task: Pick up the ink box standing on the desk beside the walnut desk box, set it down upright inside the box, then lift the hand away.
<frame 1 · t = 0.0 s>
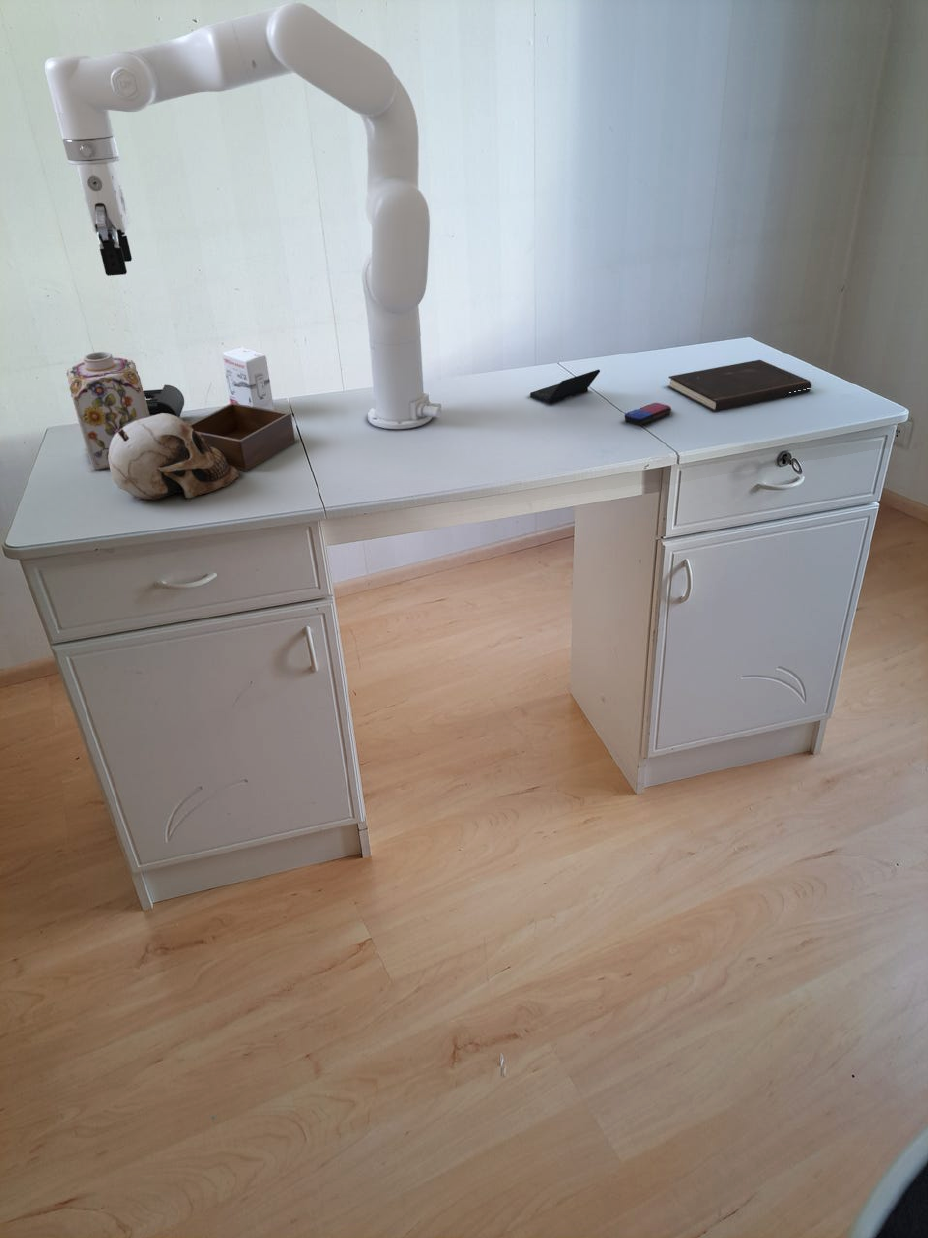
hand: (119, 267, 143), 31 cm above the table, tool pointing down, fingers open, 9 cm apart
handheld gaming console: (564, 397, 176), on the table
eraser: (647, 420, 165), on the table
ink box: (253, 413, 173), on the table
desk box: (241, 449, 158), on the table
hardcover book: (737, 391, 176), on the table
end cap: (166, 427, 168), on the table
coin bank: (180, 487, 146), on the table
decorative jar: (124, 454, 158), on the table
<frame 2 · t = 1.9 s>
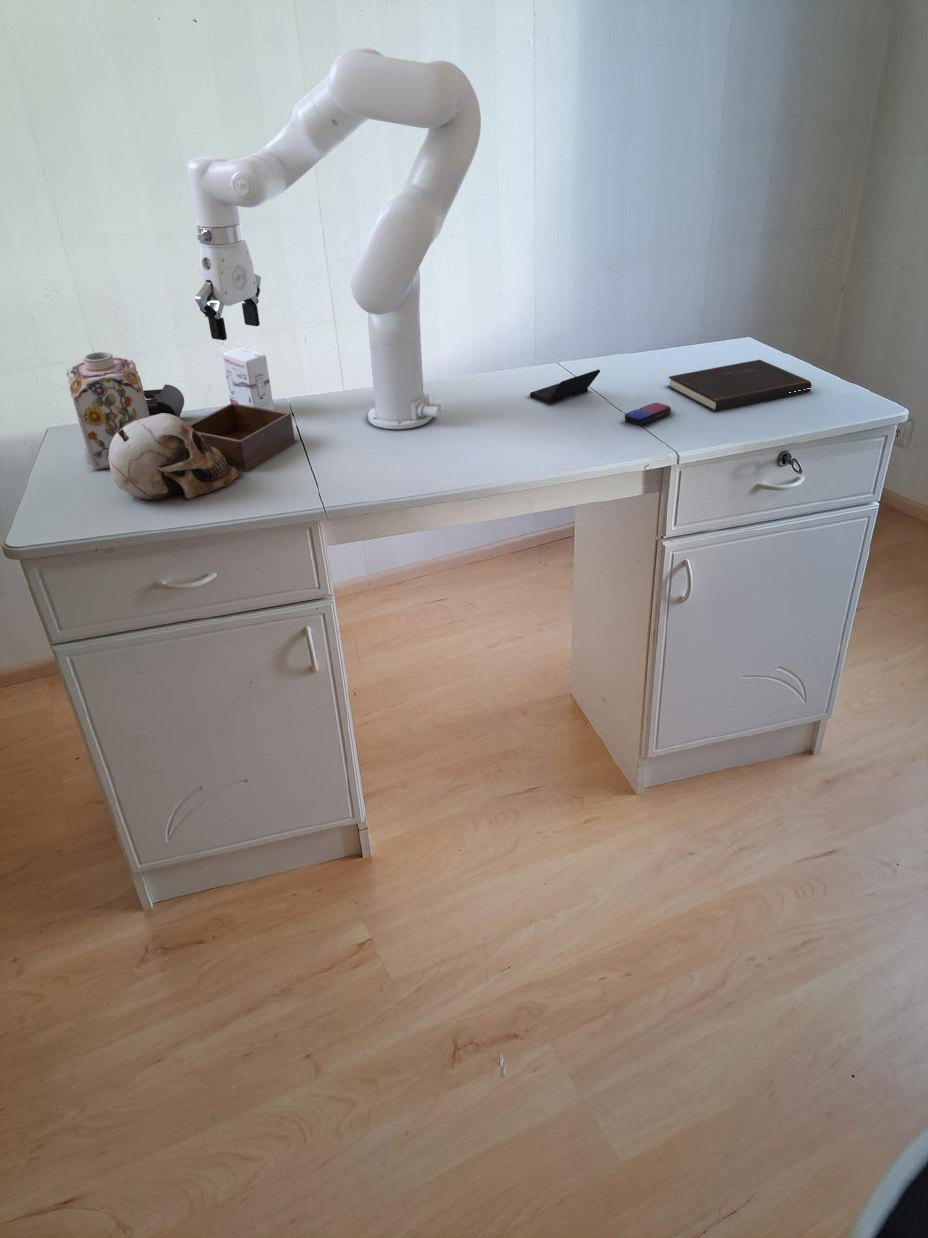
hand: (236, 331, 164), 16 cm above the table, tool pointing down, fingers open, 9 cm apart
nothing on the table moved.
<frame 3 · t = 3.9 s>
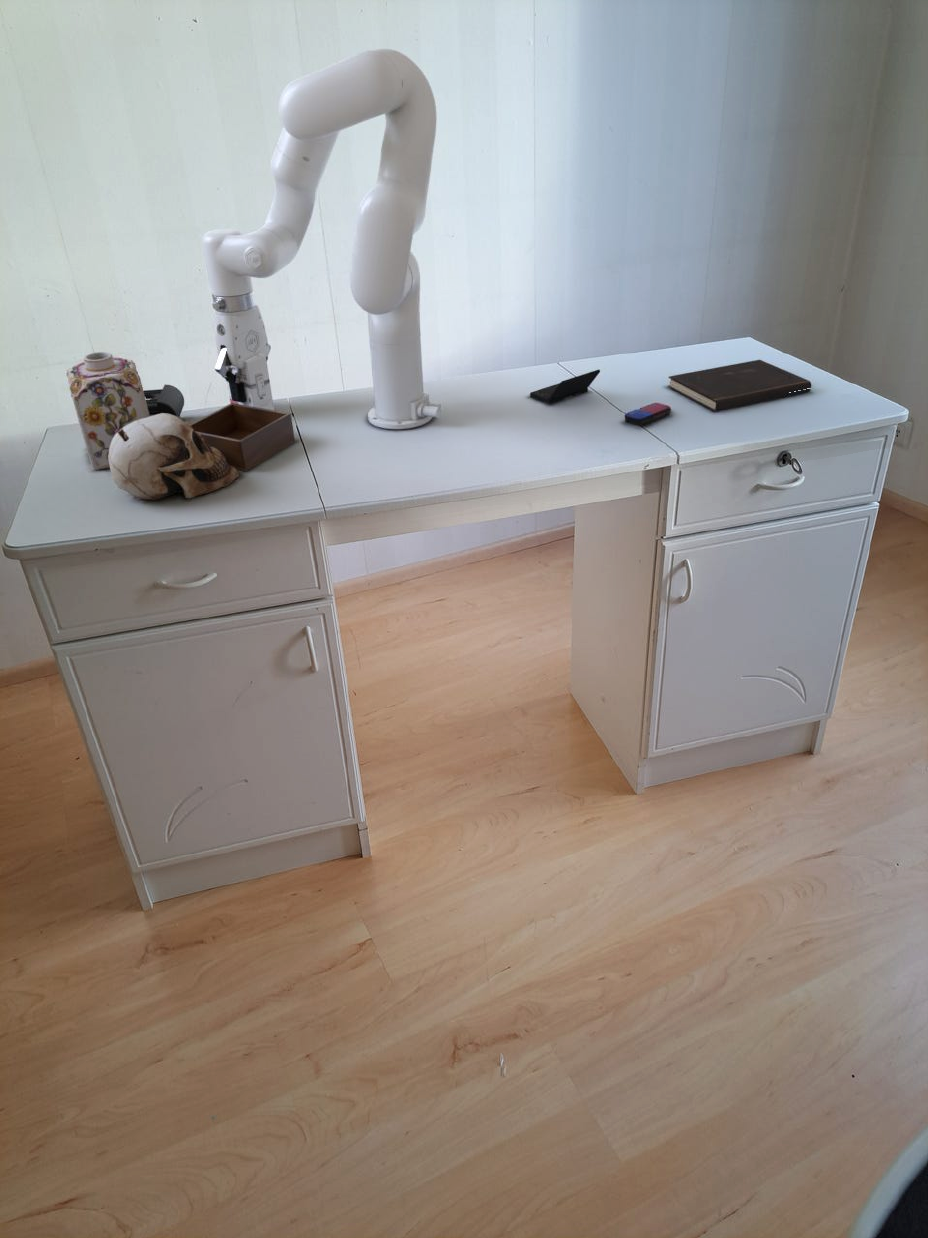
hand: (250, 394, 171), 4 cm above the table, tool pointing down, fingers closed on ink box, 5 cm apart
ink box: (253, 413, 173), on the table, touching gripper
everything else where it was.
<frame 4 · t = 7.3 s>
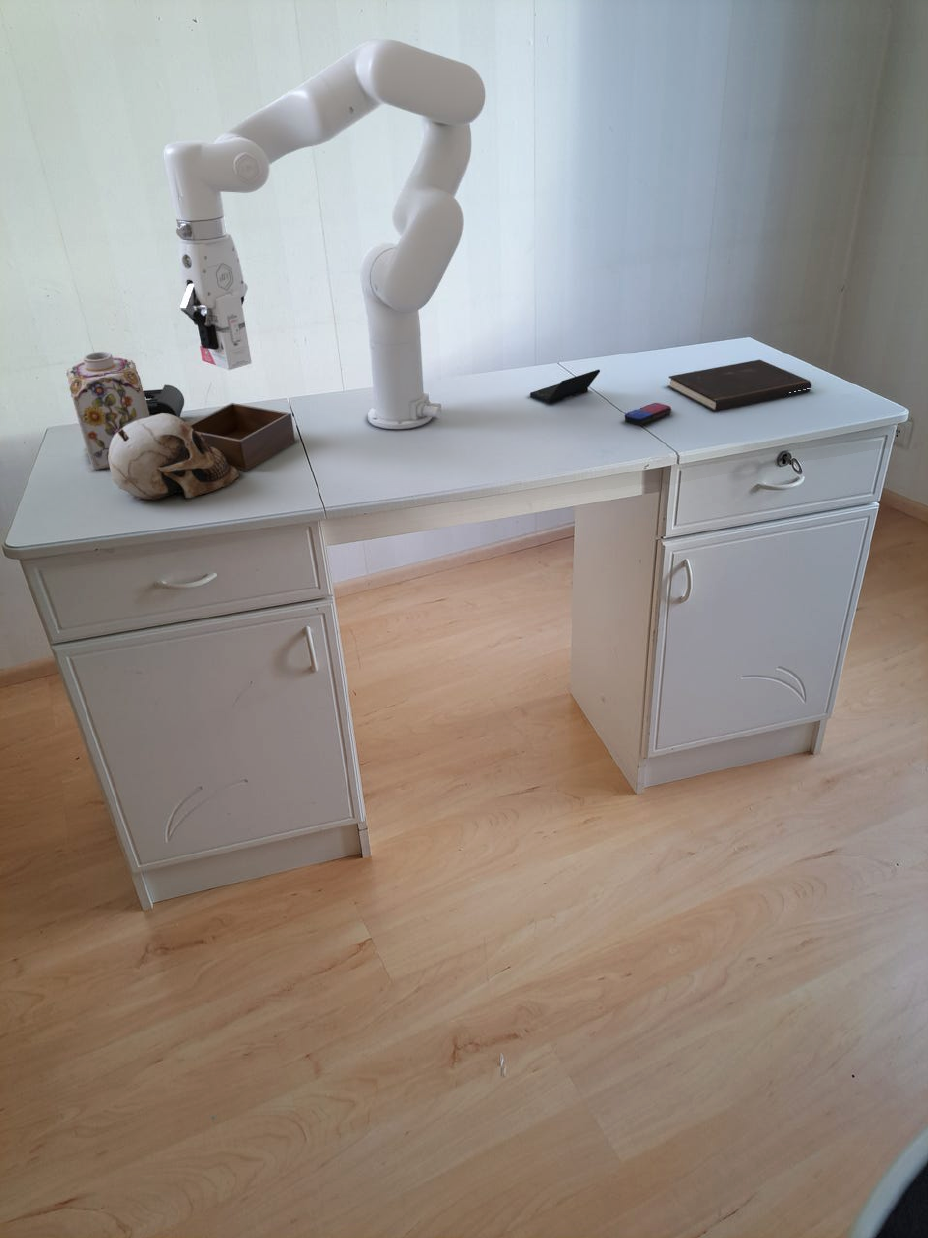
hand: (223, 341, 148), 19 cm above the table, tool pointing down, fingers closed on ink box, 5 cm apart
ink box: (227, 363, 151), point 15 cm above the table, touching gripper
everything else where it was.
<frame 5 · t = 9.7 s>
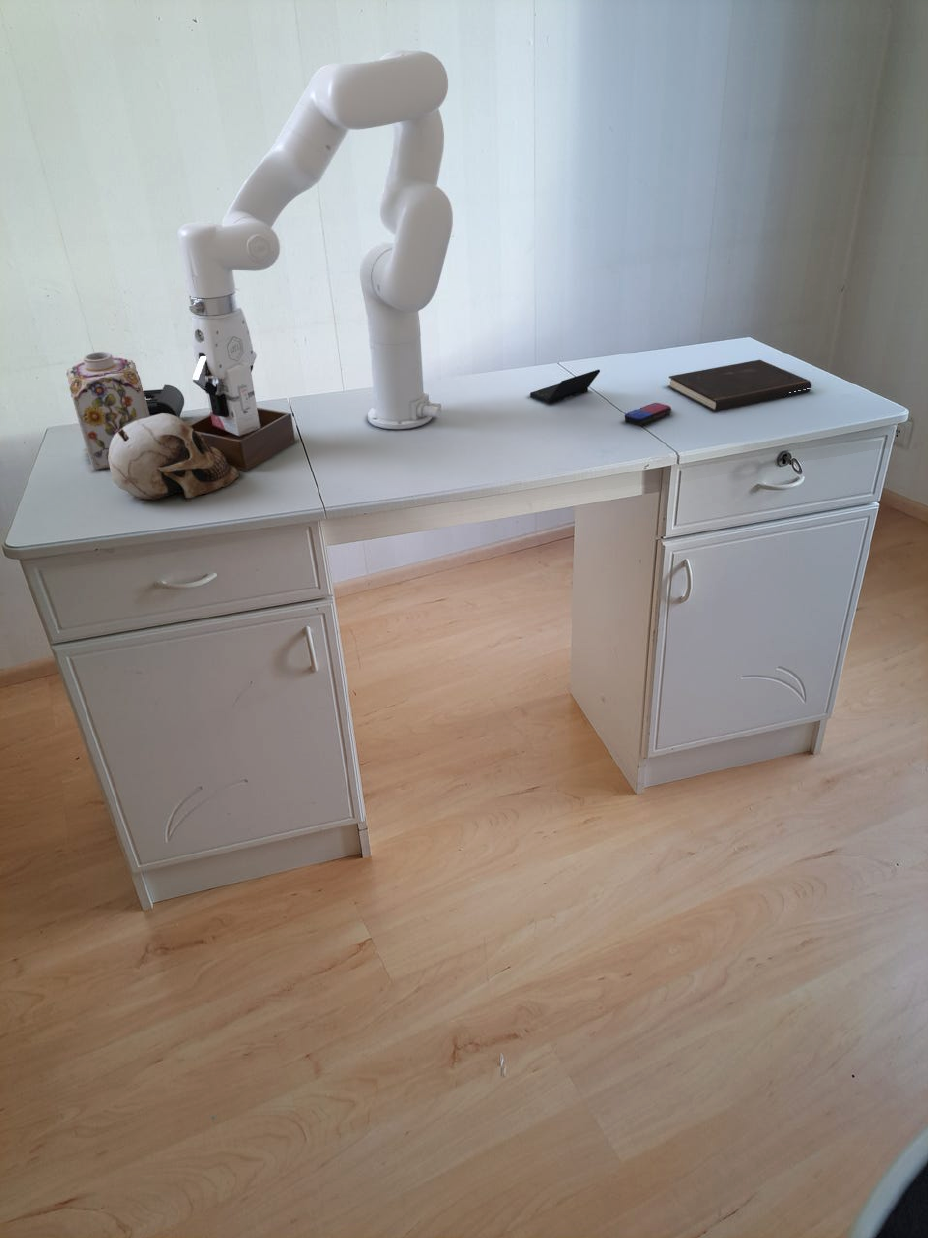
hand: (233, 408, 153), 8 cm above the table, tool pointing down, fingers closed on ink box, 5 cm apart
ink box: (236, 428, 155), point 4 cm above the table, touching gripper
everything else where it was.
when the fingers open (4 cm above the table, at t = 11.2 s): ink box stays where it is, resting on desk box.
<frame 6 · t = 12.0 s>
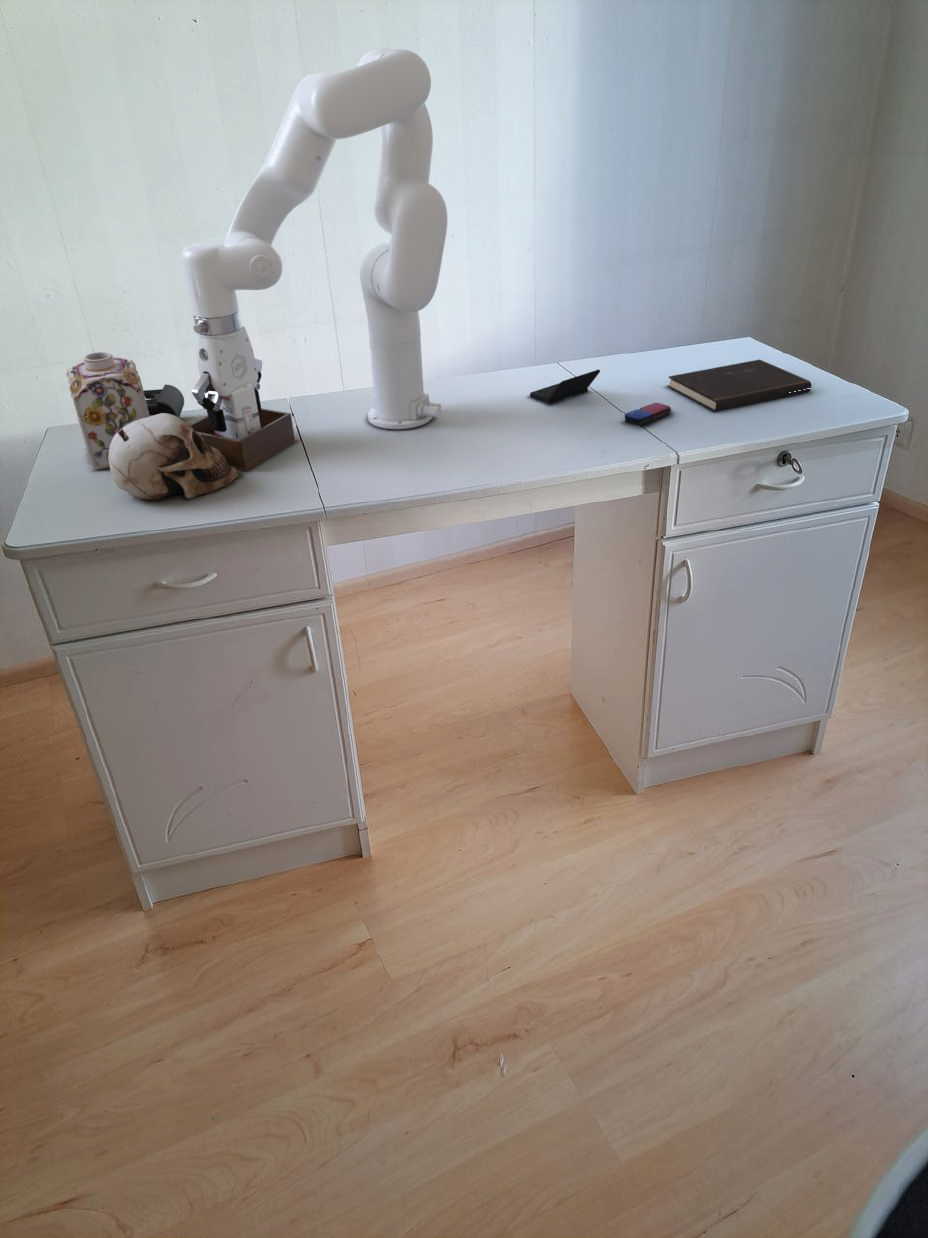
hand: (236, 420, 155), 6 cm above the table, tool pointing down, fingers open, 9 cm apart
ink box: (240, 448, 158), resting on desk box
everything else where it was.
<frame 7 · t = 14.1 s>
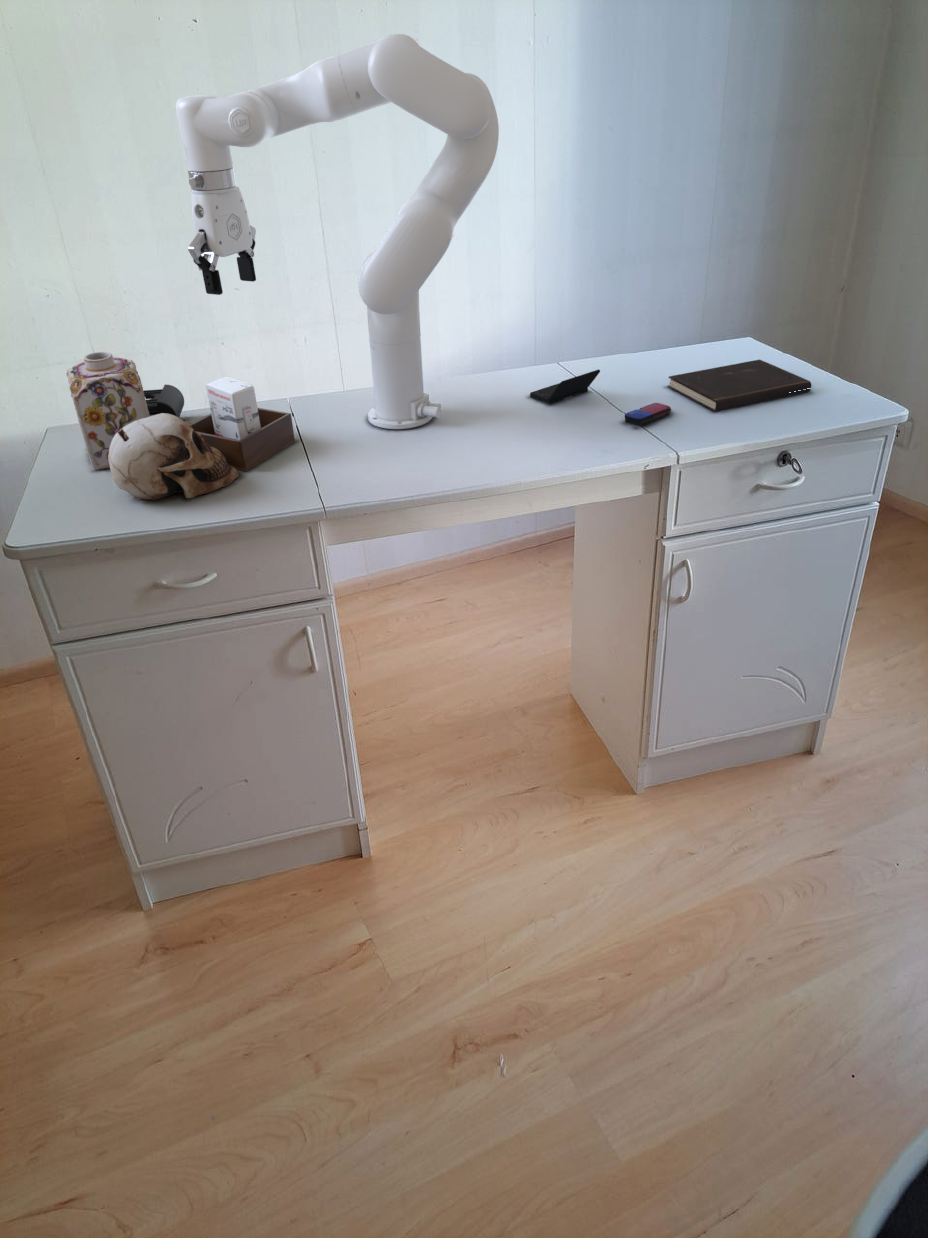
hand: (231, 287, 155), 25 cm above the table, tool pointing down, fingers open, 9 cm apart
nothing on the table moved.
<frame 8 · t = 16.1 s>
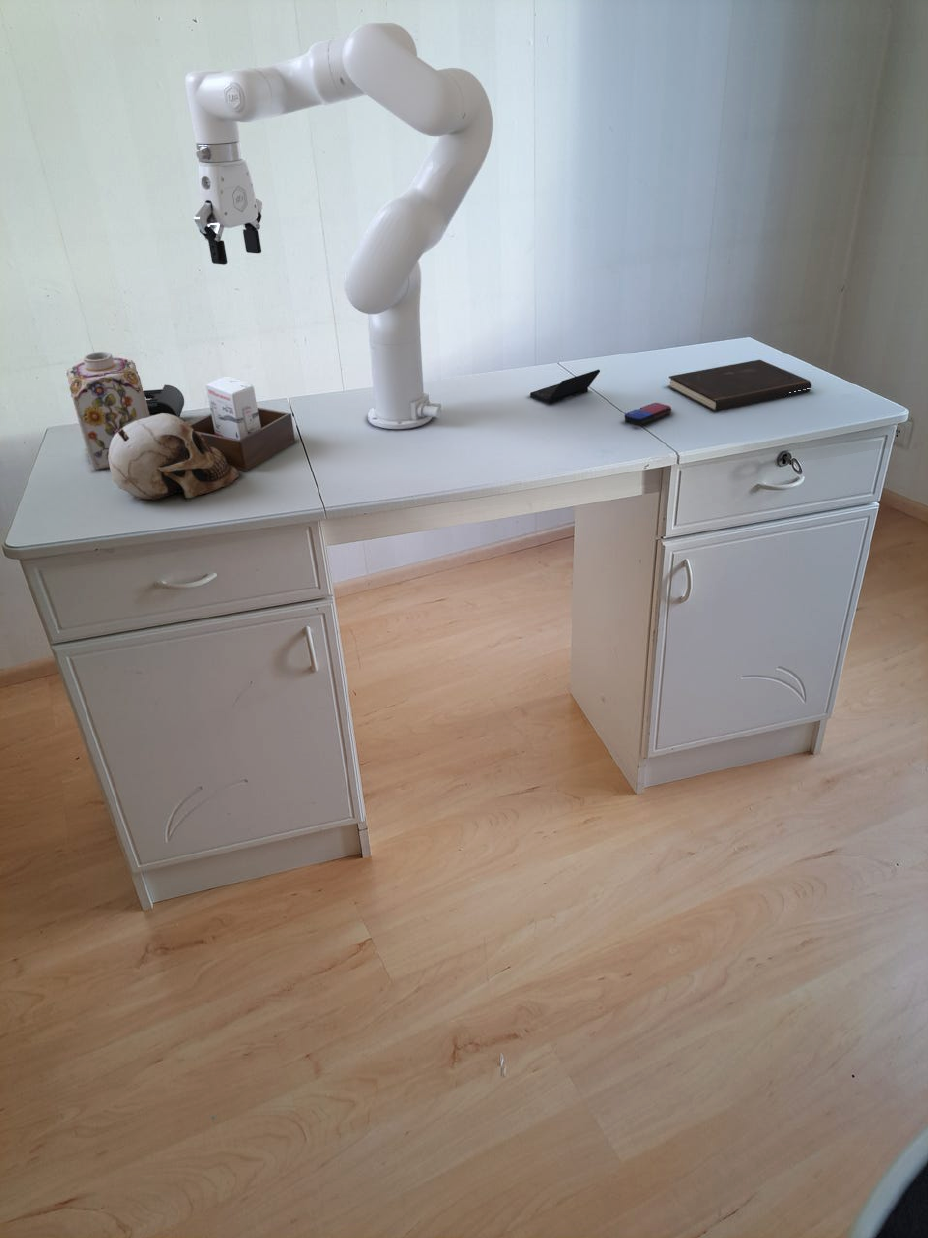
hand: (237, 257, 161), 28 cm above the table, tool pointing down, fingers open, 9 cm apart
nothing on the table moved.
at the end: ink box inside the target area in the desk box (0.0 cm from its centre), point 0.3 cm above the desk box's base; ink box tilted 0°; the gripper is holding nothing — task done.
